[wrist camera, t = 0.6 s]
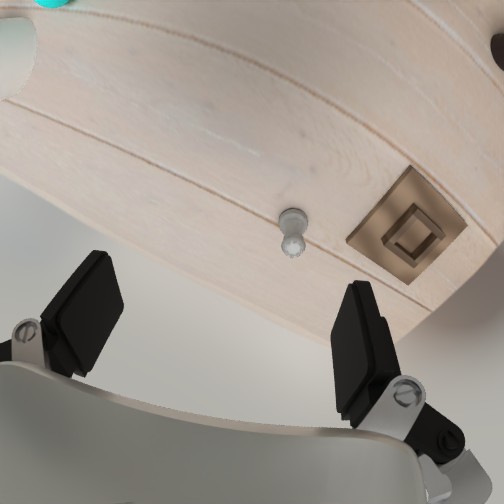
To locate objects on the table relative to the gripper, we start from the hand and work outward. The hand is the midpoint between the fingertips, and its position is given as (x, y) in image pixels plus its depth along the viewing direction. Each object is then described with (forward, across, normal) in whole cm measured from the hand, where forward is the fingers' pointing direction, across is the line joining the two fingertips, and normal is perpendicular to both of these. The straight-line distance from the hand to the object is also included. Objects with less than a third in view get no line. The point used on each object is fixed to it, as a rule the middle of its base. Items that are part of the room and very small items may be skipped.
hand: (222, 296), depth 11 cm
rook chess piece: (+32, -5, +13) cm, 35 cm away
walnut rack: (+32, -25, +12) cm, 42 cm away
